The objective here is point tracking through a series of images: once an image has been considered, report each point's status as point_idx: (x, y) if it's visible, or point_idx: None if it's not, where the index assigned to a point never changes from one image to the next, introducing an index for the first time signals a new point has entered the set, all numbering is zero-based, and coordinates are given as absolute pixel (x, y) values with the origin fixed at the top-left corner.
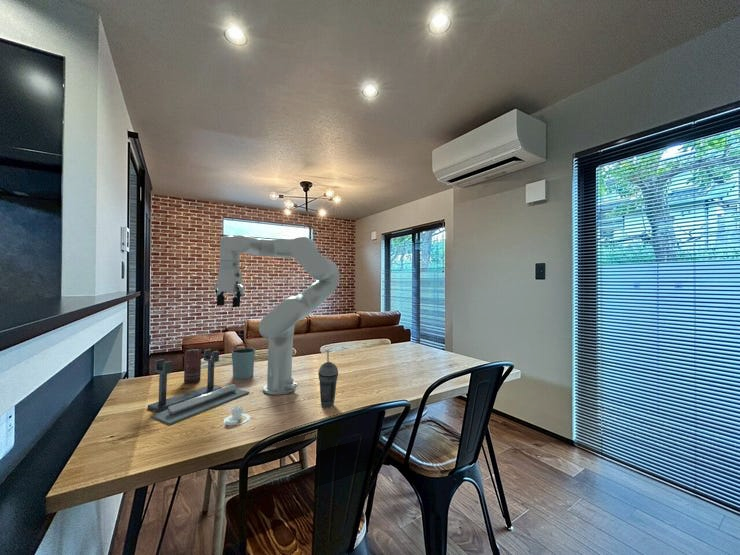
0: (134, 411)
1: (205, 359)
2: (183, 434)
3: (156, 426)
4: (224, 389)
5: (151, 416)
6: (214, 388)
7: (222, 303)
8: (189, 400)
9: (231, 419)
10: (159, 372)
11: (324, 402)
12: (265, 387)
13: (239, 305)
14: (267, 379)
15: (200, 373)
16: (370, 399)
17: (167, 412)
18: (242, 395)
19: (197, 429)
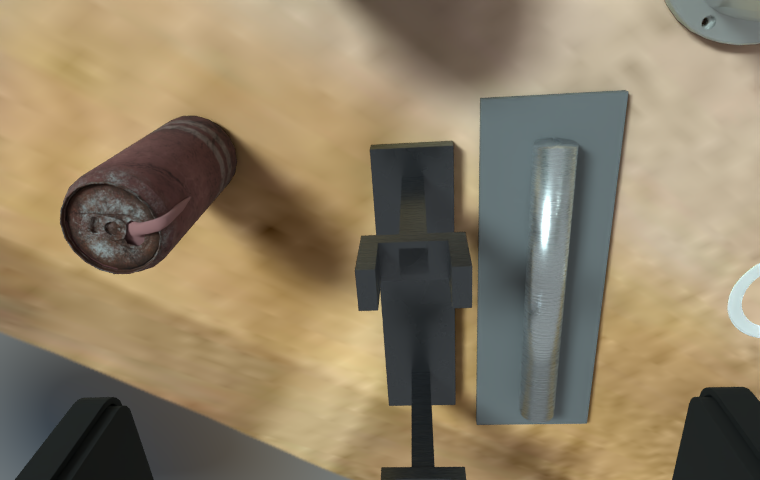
0: (377, 423)
1: (382, 276)
2: (682, 427)
3: (555, 437)
4: (567, 216)
5: (477, 422)
6: (439, 180)
7: (121, 473)
8: (550, 367)
9: None
10: None
11: None
12: (691, 3)
13: (751, 412)
14: (743, 12)
15: (203, 133)
16: None
17: (500, 392)
18: (621, 136)
19: (697, 395)
